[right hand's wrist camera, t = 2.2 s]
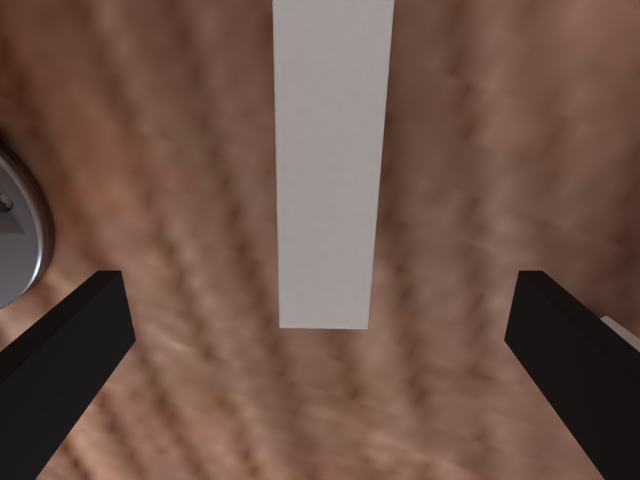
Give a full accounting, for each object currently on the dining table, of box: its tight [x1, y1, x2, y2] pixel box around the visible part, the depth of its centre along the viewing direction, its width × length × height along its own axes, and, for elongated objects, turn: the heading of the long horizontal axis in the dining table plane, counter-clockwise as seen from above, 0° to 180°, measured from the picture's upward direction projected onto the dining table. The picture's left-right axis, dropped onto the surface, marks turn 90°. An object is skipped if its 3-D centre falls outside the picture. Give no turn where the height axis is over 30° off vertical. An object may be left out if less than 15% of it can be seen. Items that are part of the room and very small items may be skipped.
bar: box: [272, 0, 394, 329], centre depth 21 cm, size 26×5×8 cm, turn 179°
